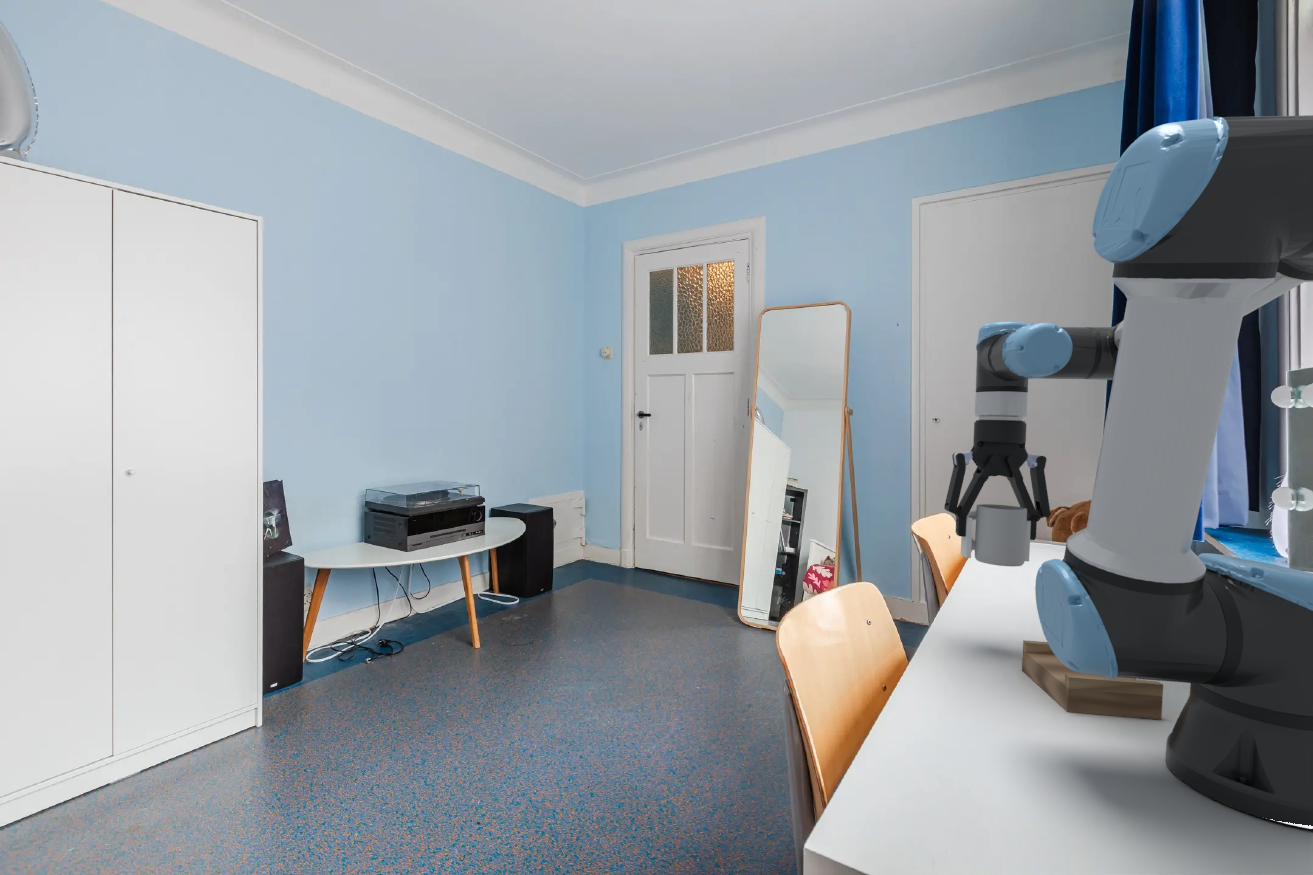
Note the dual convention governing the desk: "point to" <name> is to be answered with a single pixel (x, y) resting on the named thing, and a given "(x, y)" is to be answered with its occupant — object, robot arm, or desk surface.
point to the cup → (999, 534)
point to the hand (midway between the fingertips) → (994, 557)
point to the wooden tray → (1090, 687)
